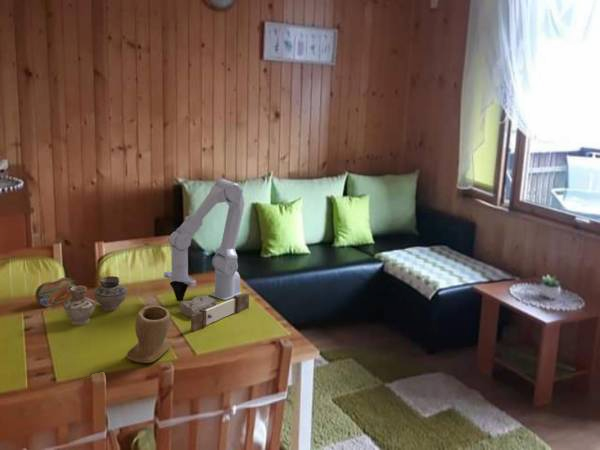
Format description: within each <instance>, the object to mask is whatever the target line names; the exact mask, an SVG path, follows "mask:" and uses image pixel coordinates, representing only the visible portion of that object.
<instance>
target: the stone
mask: <svg viewBox="0 0 600 450" xmlns="http://www.w3.org/2000/svg"><path fill="white" fill-rule="evenodd" d="M217 303H218V302H217V300H216V299H214V298H212V297H210V296H208V295H207V294H205V295H204V294H202V295H199V296H195V297H193V298H192V300H182V301H180V302H179V306H180V307H179V313H180V314H183V315H184V316H187V317H190V318H191V315H192V314H194V313H197V312H199V310H200V309H204V310H206V309H208V308H211V307H213V306H216V305H217Z"/></svg>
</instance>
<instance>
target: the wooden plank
mask: <svg viewBox="0 0 600 450" xmlns="http://www.w3.org/2000/svg"><path fill="white" fill-rule="evenodd" d="M233 298H236V312H235V313H236V314H239V313H240V312H242V311H245V310H247V309H249V307H250V293H248V292H244V293H242V294H240V295H235V296H234V297H233ZM206 328H207V325H206V310H204V309H200V310H199V312H197V313H194V314H192V315H191V317H190V331H191V332H197V331H200V330H202V329H206Z"/></svg>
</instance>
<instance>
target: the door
mask: <svg viewBox="0 0 600 450" xmlns="http://www.w3.org/2000/svg"><path fill="white" fill-rule="evenodd" d="M235 313H236V298H234V297H232V298H230V299H227V300H225V301H224V302H222V303H219V304H216V306H213V307H211V308H208V309H206V326H207V325H210V324H211V323H214V322H216V321H219V320H221V319H224V318H225V317H227V316H230V315H232V314H235Z"/></svg>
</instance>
